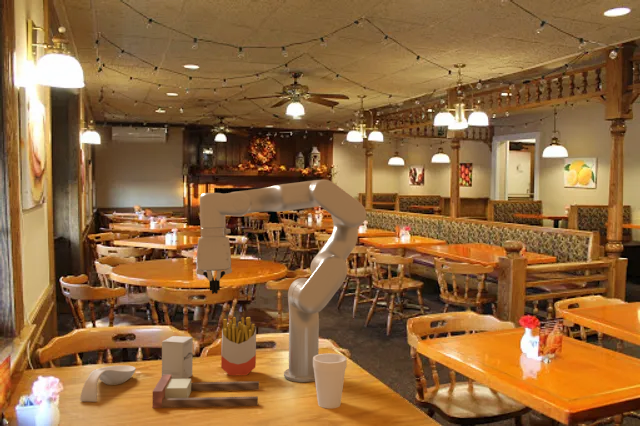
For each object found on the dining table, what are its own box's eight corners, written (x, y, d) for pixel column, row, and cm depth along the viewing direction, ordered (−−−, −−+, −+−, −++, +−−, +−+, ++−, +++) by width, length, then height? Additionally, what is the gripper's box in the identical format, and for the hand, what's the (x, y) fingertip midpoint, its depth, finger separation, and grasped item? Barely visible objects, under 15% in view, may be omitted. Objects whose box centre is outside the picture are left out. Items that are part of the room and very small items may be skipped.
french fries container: (255, 375, 177) (255, 320, 177) (221, 375, 177) (221, 320, 176) (255, 370, 182) (256, 316, 181) (222, 371, 181) (222, 317, 181)
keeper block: (191, 391, 163) (191, 378, 163) (186, 402, 155) (186, 388, 155) (170, 392, 162) (170, 378, 162) (165, 402, 154) (165, 388, 154)
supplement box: (183, 383, 169) (183, 342, 169) (160, 381, 171) (161, 341, 171) (193, 375, 177) (193, 336, 176) (171, 373, 178) (172, 335, 178)
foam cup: (335, 413, 147) (335, 365, 147) (306, 406, 152) (306, 359, 152) (352, 402, 155) (352, 356, 155) (324, 395, 160) (324, 351, 160)
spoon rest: (105, 374, 177) (105, 352, 177) (141, 375, 177) (141, 353, 176) (68, 402, 153) (68, 377, 153) (109, 403, 153) (109, 378, 153)
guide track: (259, 387, 166) (259, 373, 166) (257, 405, 152) (257, 389, 152) (162, 389, 164) (162, 374, 164) (152, 407, 150) (152, 391, 150)
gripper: (238, 231, 172) (239, 289, 173) (189, 233, 170) (191, 291, 171) (237, 233, 165) (239, 294, 165) (186, 234, 163) (188, 296, 164)
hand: (214, 292), depth 168 cm, fingers closed
